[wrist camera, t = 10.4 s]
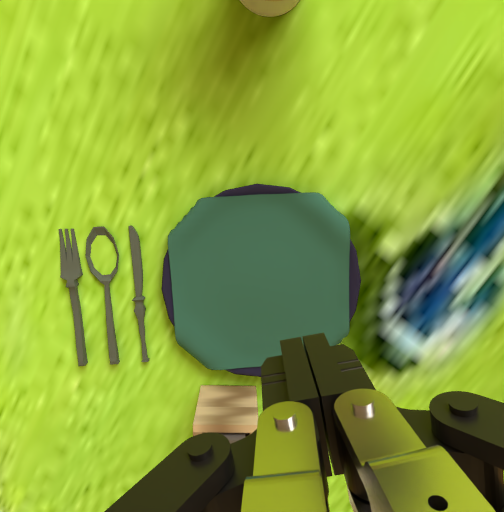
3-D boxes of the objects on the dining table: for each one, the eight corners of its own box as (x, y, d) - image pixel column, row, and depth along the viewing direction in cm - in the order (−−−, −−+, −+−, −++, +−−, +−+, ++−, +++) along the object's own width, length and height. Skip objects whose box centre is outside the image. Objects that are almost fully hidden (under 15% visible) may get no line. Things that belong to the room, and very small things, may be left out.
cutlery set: (355, 364, 42) (361, 375, 40) (81, 376, 42) (71, 387, 40) (356, 179, 38) (363, 179, 36) (56, 192, 38) (43, 193, 36)
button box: (256, 385, 42) (258, 425, 35) (254, 434, 43) (256, 481, 36) (201, 385, 42) (193, 424, 35) (200, 434, 43) (193, 481, 36)
